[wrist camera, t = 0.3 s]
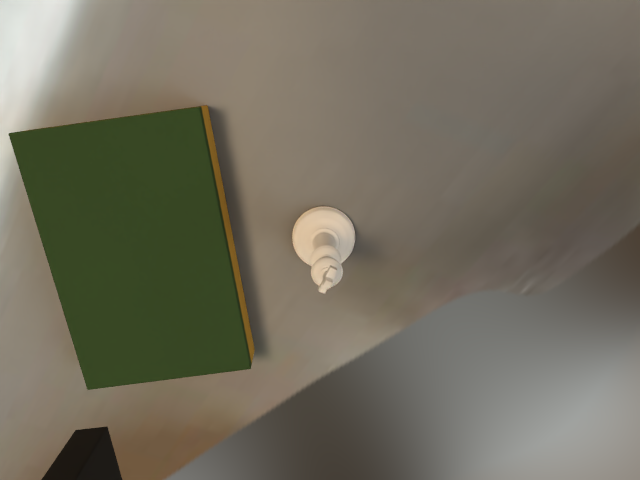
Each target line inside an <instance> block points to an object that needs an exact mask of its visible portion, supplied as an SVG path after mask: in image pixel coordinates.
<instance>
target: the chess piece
mask: <svg viewBox="0 0 640 480" xmlns="http://www.w3.org/2000/svg"><path fill="white" fill-rule="evenodd" d="M292 242H293V246H294V248H295V251H296V253H297V255H298V256H299V257H300V258H301V259H302V260H303V261H304V262H305V263H307V264H308V265H310V266H311V267H312V269H311V276H312V279H313V281H314V282H315V283H316V284H317V285H319V288H318V291H319V292H322V293H324V294H325V292H326V291H327V289H330V287H332V286H334V285H336V284H337V283H339V281H340V280H341V278H342V275H343V269H342V266H341V263H342V262H344V261H345V260H346V259H347V258H348V256H349V255H350V254H351V252H352V250H353V247H354V243H355V230H354V227H353V224H352V222H351V221H350V219H349V218H348V217H347V216H346V215H345V214H344V213H343V212H341V211H340V210H338V209H335V208H332V207H326V206H322V207H316V208H312V209H310V210H308V211H306V212H305V213H304V214H302V215H301V216H300V217H299V219H298V220H297V221H296V223H295V225H294V228H293V232H292Z"/></svg>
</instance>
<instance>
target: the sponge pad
mask: <svg viewBox="0 0 640 480" xmlns="http://www.w3.org/2000/svg"><path fill="white" fill-rule="evenodd" d="M9 136H10V140H11V143H12V146H13V149H14V153H15V156H16V159H17V162H18V166H19V169H20V172H21V175H22V179H23V182H24V185H25V188H26V192H27V195H28V198H29V201H30V204H31V208H32V211H33V214H34V217H35V221H36V224H37V227H38V230H39V234H40V237H41V240H42V243H43V247H44V250H45V253H46V256H47V260H48V263H49V266H50V269H51V273H52V276H53V279H54V282H55V286H56V289H57V292H58V295H59V299H60V302H61V305H62V308H63V311H64V315H65V318H66V321H67V324H68V328H69V331H70V334H71V337H72V341H73V344H74V347H75V350H76V354H77V357H78V360H79V363H80V367H81V370H82V373H83V376H84V380H85V383H86V386H87V389H88V390H90V389H98V388H105V387H113V386H121V385H129V384H137V383H144V382H152V381H160V380H168V379H176V378H183V377H191V376H199V375H207V374H215V373H222V372H230V371H238V370H246V369H251V364H252V359H253V354H254V350H255V349H254V344H253V339H252V334H251V329H250V323H249V318H248V313H247V308H246V303H245V297H244V292H243V287H242V282H241V277H240V271H239V266H238V261H237V256H236V251H235V245H234V240H233V235H232V230H231V225H230V219H229V214H228V209H227V204H226V199H225V193H224V188H223V183H222V178H221V173H220V167H219V162H218V157H217V152H216V147H215V141H214V136H213V131H212V126H211V121H210V115H209V110H208V106H207V105H206V106H199V107H191V108H184V109H177V110H170V111H163V112H156V113H148V114H141V115H134V116H127V117H120V118H113V119H105V120H98V121H91V122H84V123H77V124H70V125H63V126H55V127H48V128H41V129H34V130H27V131H21V132H14V133H9Z"/></svg>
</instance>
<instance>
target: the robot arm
mask: <svg viewBox="0 0 640 480" xmlns="http://www.w3.org/2000/svg"><path fill="white" fill-rule="evenodd" d="M42 480H122V477H121V474H120V470H119V467H118V463H117V460H116V456H115V452H114V449H113V445H112V442H111V438H110V434H109V431H108V427H100V428H91V429H82V430H76V431H75V432H74V433H73V435H72V436H71V438H70V439H69V441H68V442H67V444H66V445H65V447H64V448H63V449H62V451H61V452H60V454H59V455H58V457H57V458H56V460H55V461H54V462H53V464H52V465H51V467H50V468H49V470H48V471H47V473H46V474H45V476H44V477H43V478H42Z"/></svg>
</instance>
